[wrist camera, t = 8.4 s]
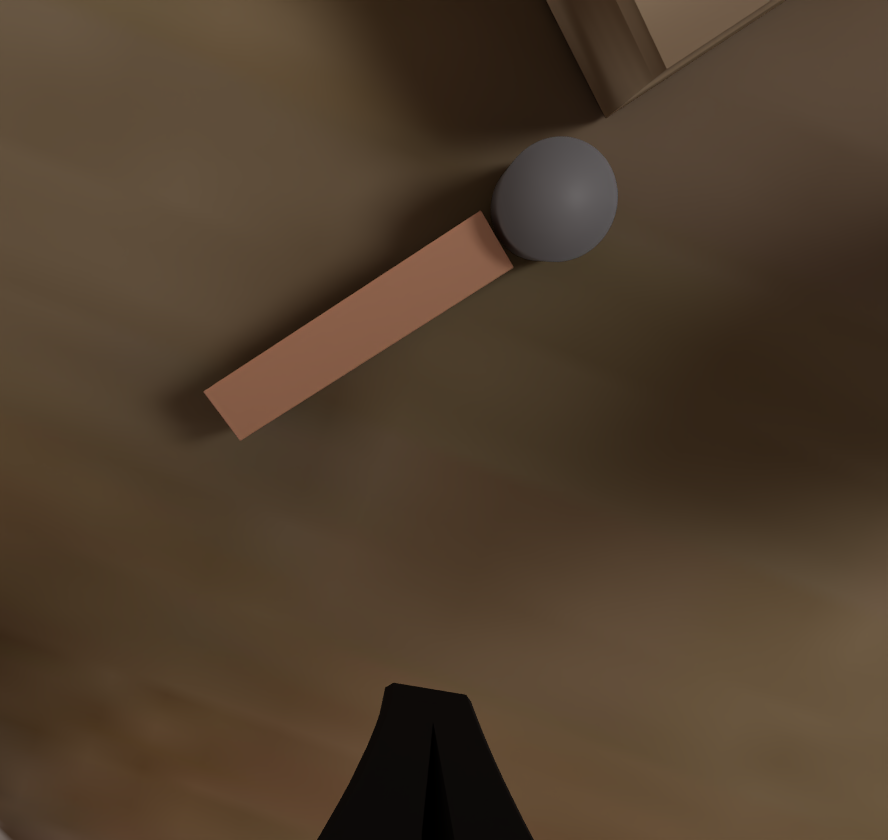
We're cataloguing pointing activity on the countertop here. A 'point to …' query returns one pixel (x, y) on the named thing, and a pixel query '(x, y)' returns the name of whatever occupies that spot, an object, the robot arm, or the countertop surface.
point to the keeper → (433, 279)
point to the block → (646, 39)
